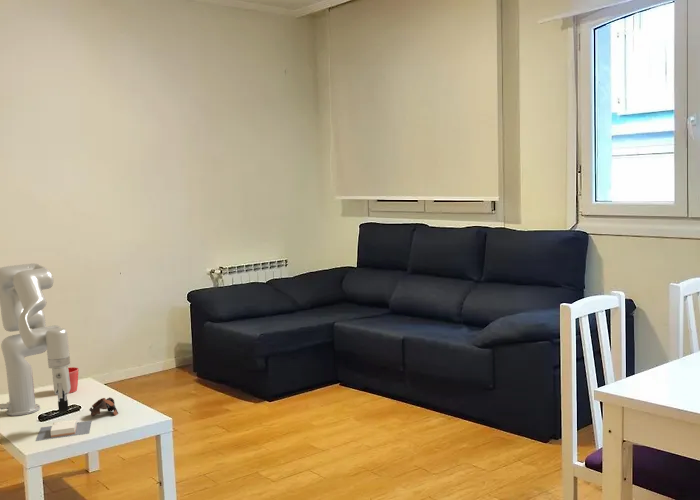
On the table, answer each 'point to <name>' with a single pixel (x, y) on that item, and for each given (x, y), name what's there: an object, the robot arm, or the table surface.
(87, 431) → the mat
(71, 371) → the flower pot
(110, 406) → the broken clay vessel
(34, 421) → the table surface
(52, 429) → the tile
